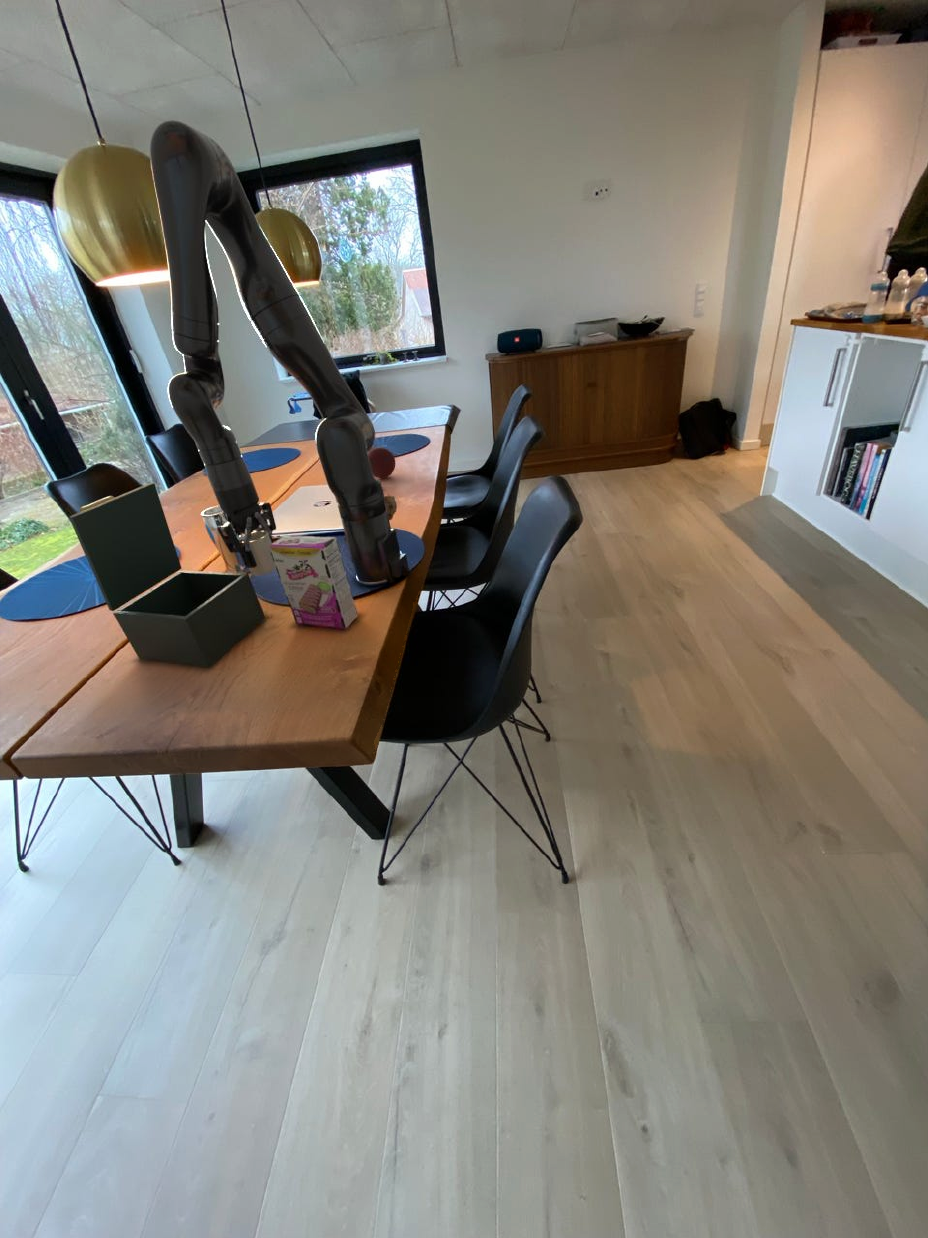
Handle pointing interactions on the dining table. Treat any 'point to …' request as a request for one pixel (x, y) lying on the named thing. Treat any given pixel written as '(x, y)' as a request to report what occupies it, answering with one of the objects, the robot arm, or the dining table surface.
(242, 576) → the open lidded box
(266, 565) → the cup
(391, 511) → the lion figurine
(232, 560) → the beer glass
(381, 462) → the decorative ball
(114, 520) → the lid
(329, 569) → the candy bar box
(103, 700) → the dining table surface
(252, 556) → the robot arm
